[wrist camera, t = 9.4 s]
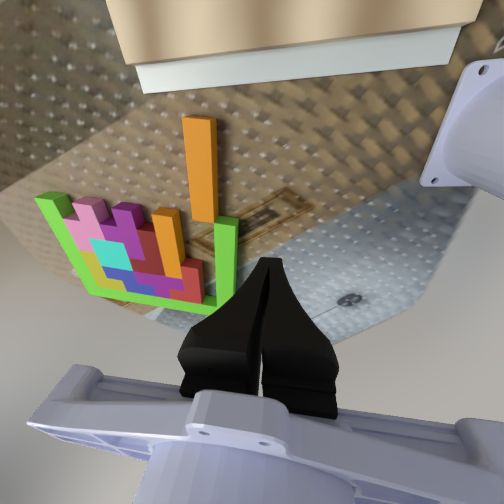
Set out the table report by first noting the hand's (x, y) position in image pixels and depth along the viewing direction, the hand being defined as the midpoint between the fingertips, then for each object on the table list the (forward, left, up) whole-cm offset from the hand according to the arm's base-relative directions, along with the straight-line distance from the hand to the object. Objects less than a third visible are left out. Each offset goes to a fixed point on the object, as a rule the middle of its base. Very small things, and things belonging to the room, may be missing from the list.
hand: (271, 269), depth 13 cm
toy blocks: (+16, +3, -11) cm, 19 cm away
